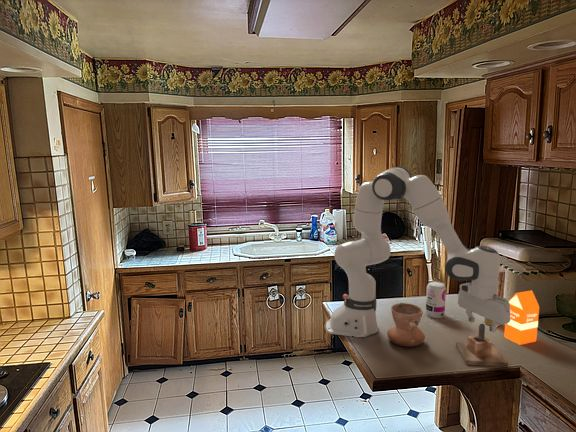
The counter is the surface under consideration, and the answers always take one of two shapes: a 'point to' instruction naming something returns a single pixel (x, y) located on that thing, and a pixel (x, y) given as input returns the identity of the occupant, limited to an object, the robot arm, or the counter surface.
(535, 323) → the orange juice
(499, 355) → the peg stand
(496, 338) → the counter surface
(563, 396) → the counter surface
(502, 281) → the paper tube
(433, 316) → the supplement can
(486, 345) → the bead
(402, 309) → the ceramic jug
